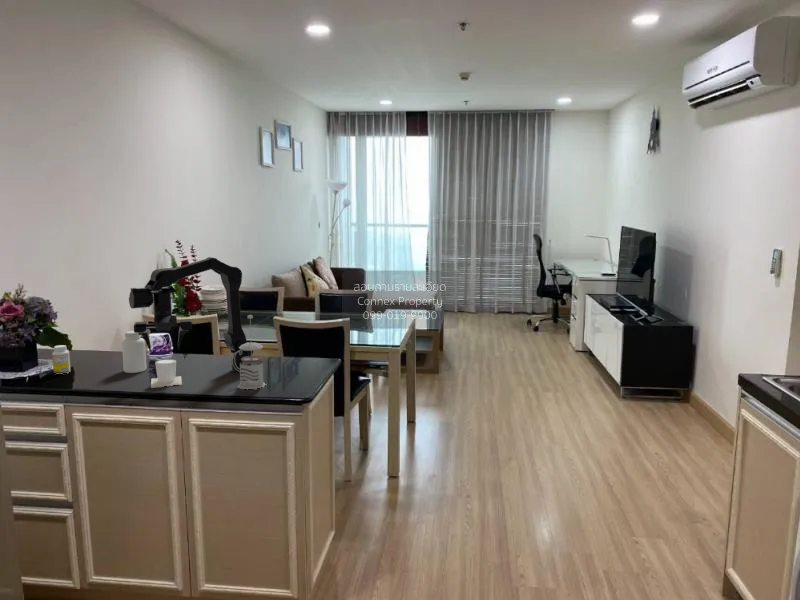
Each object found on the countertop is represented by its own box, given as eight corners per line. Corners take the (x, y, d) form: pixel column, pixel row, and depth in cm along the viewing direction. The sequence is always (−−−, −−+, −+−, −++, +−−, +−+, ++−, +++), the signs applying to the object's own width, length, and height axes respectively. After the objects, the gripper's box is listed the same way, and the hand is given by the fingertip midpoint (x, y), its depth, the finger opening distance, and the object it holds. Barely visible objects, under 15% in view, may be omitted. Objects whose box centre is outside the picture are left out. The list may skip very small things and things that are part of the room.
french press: (259, 390, 205) (257, 317, 201) (227, 388, 207) (225, 316, 203) (270, 382, 214) (269, 313, 211) (240, 380, 216) (238, 311, 213)
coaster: (181, 377, 219) (181, 375, 219) (181, 385, 210) (181, 383, 210) (151, 380, 216) (151, 378, 216) (150, 387, 207) (150, 385, 206)
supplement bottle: (59, 371, 227) (57, 344, 226) (73, 371, 227) (72, 344, 225) (50, 374, 222) (48, 347, 220) (64, 375, 221) (62, 348, 220)
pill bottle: (118, 372, 226) (116, 332, 224) (135, 367, 234) (133, 329, 231) (134, 374, 223) (132, 334, 221) (151, 369, 231) (149, 330, 228)
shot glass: (181, 379, 215) (180, 360, 214) (166, 384, 208) (165, 364, 207) (166, 377, 217) (165, 358, 216) (151, 381, 211) (150, 362, 210)
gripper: (132, 310, 198) (134, 357, 200) (192, 308, 205) (193, 353, 207) (133, 305, 209) (135, 350, 211) (190, 303, 215) (192, 346, 217)
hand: (164, 350), depth 211 cm, fingers open, 9 cm apart
